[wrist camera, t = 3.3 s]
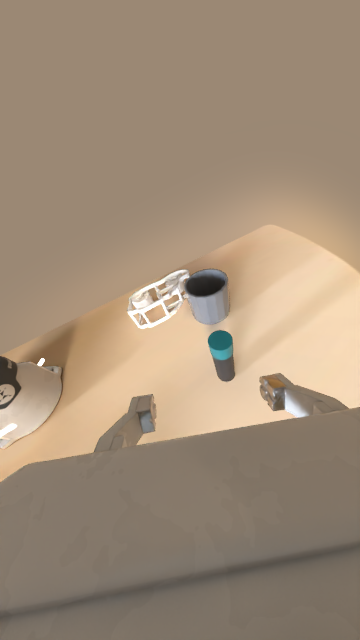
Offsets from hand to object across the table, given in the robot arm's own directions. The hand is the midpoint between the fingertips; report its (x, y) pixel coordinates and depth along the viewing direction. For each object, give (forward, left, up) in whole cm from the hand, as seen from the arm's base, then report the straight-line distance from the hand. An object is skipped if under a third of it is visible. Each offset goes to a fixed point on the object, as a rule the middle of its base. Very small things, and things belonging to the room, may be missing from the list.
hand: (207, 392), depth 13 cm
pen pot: (-8, +27, -22) cm, 36 cm away
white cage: (-22, +28, -22) cm, 42 cm away
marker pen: (-1, +10, -22) cm, 24 cm away
